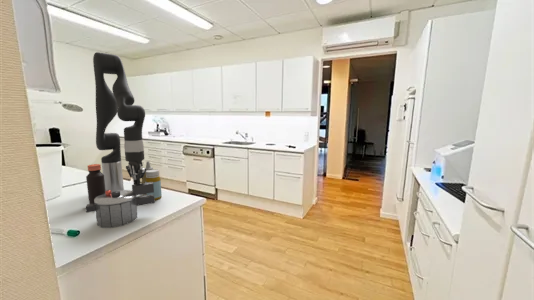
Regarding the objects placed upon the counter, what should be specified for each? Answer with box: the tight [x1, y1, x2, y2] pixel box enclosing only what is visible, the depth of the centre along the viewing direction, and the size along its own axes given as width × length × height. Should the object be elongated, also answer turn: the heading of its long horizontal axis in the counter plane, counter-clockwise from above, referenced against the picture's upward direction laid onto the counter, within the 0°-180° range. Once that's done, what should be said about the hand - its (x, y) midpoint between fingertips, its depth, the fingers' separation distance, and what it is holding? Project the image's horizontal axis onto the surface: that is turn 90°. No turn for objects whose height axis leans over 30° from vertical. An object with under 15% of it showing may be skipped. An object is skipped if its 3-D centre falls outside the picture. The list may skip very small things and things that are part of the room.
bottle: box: [146, 168, 162, 201], centre depth 120 cm, size 7×7×15 cm
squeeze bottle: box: [141, 161, 154, 183], centre depth 128 cm, size 8×8×18 cm
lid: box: [94, 182, 154, 206], centre depth 97 cm, size 21×15×5 cm
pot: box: [85, 194, 156, 229], centre depth 97 cm, size 24×14×9 cm, turn 119°
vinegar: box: [85, 163, 106, 204], centre depth 110 cm, size 7×7×20 cm
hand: (137, 186), depth 106 cm, fingers closed
